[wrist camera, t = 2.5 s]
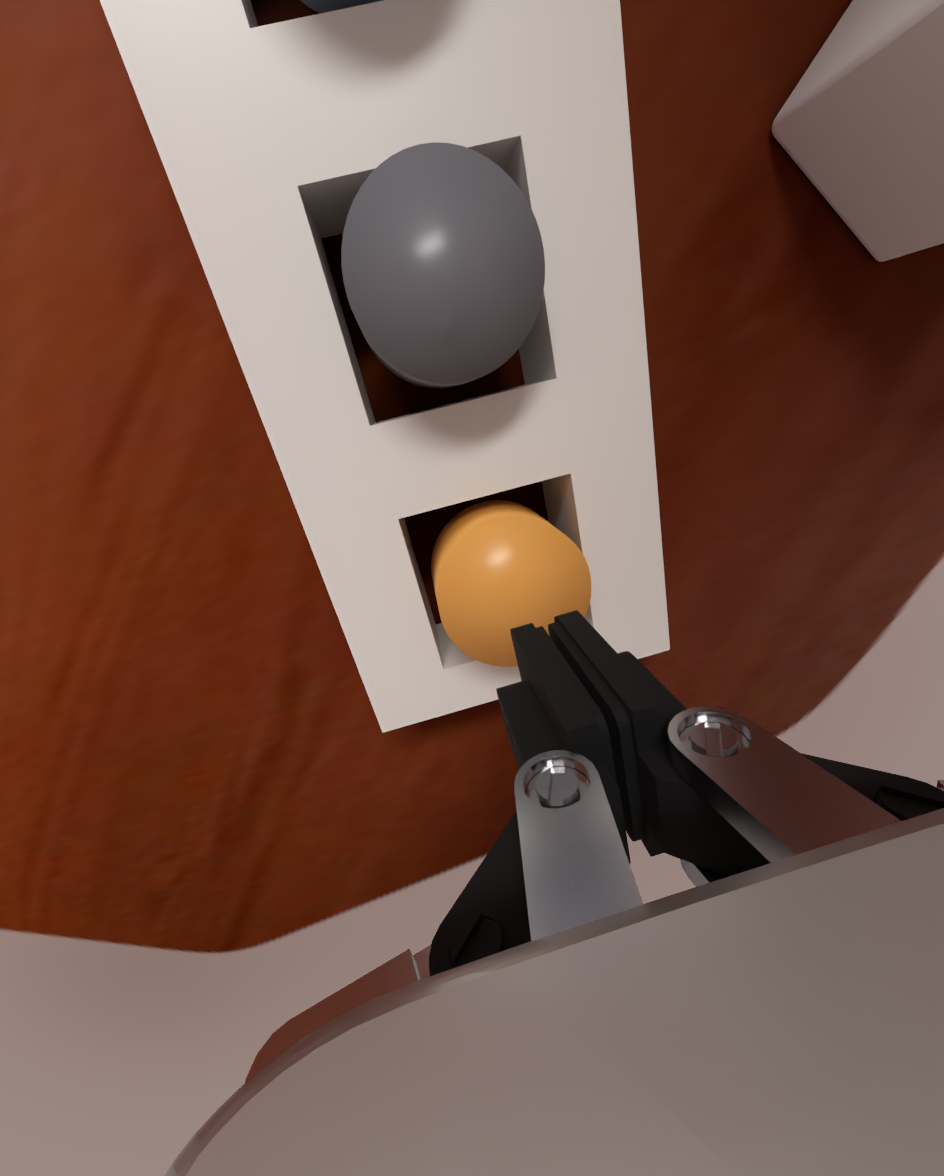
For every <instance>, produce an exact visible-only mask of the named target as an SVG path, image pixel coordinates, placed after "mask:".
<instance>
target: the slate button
mask: <svg viewBox="0 0 944 1176" xmlns="http://www.w3.org/2000/svg"><path fill="white" fill-rule="evenodd" d="M300 1H301V2H302V3H304V4H305V5H306V6H307V7H309V8H311V9H312V10H314V11H316V12H318V13H319V14H321V13H325V12H330V11H335V10H340V9H345V8H349V7H354V6H359V5H364V4H369V3H373V2H378V1H383V0H300Z"/></svg>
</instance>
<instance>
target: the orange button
mask: <svg viewBox="0 0 944 1176" xmlns="http://www.w3.org/2000/svg"><path fill="white" fill-rule="evenodd" d="M431 574H432V579H433V584H434V589H435V594H436V599H437V604H438V609H439V614H440V618H441V621H442V624H443V627H444V629H445V631H446V633H447V635H448V636H449V638H450V639H451V640H452V642H453V643H454V644H455V645H456V646H457V647H458V648H459V649H460V650H461V651H462V652H464V653H465V654H466V655H468V656H470V657H471V658H473V659H475V660H477V661H480V662H482V663H485V664H489V665H493V666H501V667H514V666H518V664H517V659H516V655H515V651H514V646H513V642H512V638H511V632H510V629H512V628H516V627H519V626H523V625H526V624H530V623H533V624H534V626H535V627H536V628H537V627H541V626H543V628H544V629H545V630H546V632H547V633H548V635H549V631H548V624H551V623H554V617H555V616H558V615H561V614H565V613H568V612H572V611H575V610H577V611H579V612H580V613H581V615H582V616H583V617H584V618H585V616H586V613H587V610H588V607H589V604H590V599H591V588H592V586H591V576H590V571H589V567H588V565H587V562H586V559H585V558H584V556H583V554H582V552H581V551H580V549H579V548H578V547H577V545H576V544H575V543H574V542H573V541H572V540H571V539H570V538H569V537H568V536H566V535H565V534H564V533H562V532H561V531H560V530H558V529H557V528H556V527H554V526H553V525H552V524H550V523H549V522H548V521H546V520H545V519H544V518H542V517H541V516H540V515H538V514H537V513H536V512H534V511H533V510H532V509H530V508H528V507H526V506H524V505H522V504H519V503H516V502H512V501H507V500H490V501H485V502H480V503H477V504H474V505H472V506H470V507H468V508H466V509H464V510H462V511H461V512H459V513H458V514H457V515H455V516H454V517H453V518H452V519H451V520H450V521H449V522H448V523H447V524H446V525H445V527H444V528H443V529H442V531H441V532H440V534H439V536H438V538H437V540H436V542H435V545H434V548H433V552H432V557H431Z"/></svg>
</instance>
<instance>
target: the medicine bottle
mask: <svg viewBox="0 0 944 1176" xmlns="http://www.w3.org/2000/svg"><path fill="white" fill-rule="evenodd" d="M772 134H773V136H774V137H775V138H776V140H777V141H778V142H779V143H780V144H781V146H782V147H783V148H784V149H785V151H786V152H787V153H788V154H789V155H790V157H791V158H792V159H793V160H794V161H795V163H796V164H797V165H798V166H799V168H800V169H801V170H802V171H803V172H804V174H805V175H806V176H807V177H808V178H809V180H810V181H811V182H812V183H813V185H814V186H815V187H816V188H817V189H818V191H819V192H820V193H821V194H822V195H823V197H824V198H825V199H826V200H827V201H828V203H829V204H830V205H831V206H832V208H833V209H834V210H835V211H836V212H837V214H838V215H839V216H840V217H841V218H842V220H843V221H844V222H845V223H846V225H847V226H848V227H849V228H850V229H851V231H852V232H853V233H854V234H855V235H856V237H857V238H858V239H859V240H860V242H861V243H862V244H863V245H864V246H865V248H866V249H867V250H868V251H869V252H870V254H871V255H872V256H873V257H874V258H875V260H877V261H879V262H884V261H888V260H891V259H895V258H898V257H901V256H905V255H908V254H911V253H914V252H918V251H921V250H924V249H928V248H931V247H934V246H938V245H941V244H944V0H853V1H852V2H851V4H850V5H849V7H848V8H847V10H846V11H845V13H844V14H843V16H842V17H841V19H840V20H839V22H838V23H837V25H836V26H835V28H834V29H833V31H832V32H831V34H830V35H829V37H828V39H827V40H826V42H825V43H824V45H823V46H822V48H821V49H820V51H819V52H818V54H817V55H816V57H815V58H814V60H813V61H812V63H811V64H810V66H809V67H808V69H807V70H806V72H805V73H804V75H803V76H802V78H801V79H800V81H799V83H798V84H797V86H796V87H795V89H794V90H793V92H792V93H791V95H790V96H789V98H788V99H787V101H786V102H785V104H784V105H783V107H782V108H781V110H780V111H779V113H778V114H777V116H776V117H775V119H774V121H773V123H772Z"/></svg>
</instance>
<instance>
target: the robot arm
mask: <svg viewBox="0 0 944 1176" xmlns="http://www.w3.org/2000/svg"><path fill="white" fill-rule="evenodd" d="M548 631H549V635H548V633H547V632H546V630H545V629H544V628H543V626H541V627H537V628H536V627H535V626H534V624H533V623H530V624H526V625H523V626H519V627H516V628H512V629H510V632H511V638H512V642H513V646H514V651H515V655H516V659H517V664H518V668H519V672H520V677H521V682H517V683H514V684H510V685H507V686H504V687H500V688H497V689H496V691H497V696H498V700H499V704H500V708H501V711H502V715H503V719H504V723H505V726H506V730H507V733H508V737H509V740H510V743H511V746H512V749H513V752H514V755H515V758H516V761H517V764H518V767H519V771H518V773H517V775H516V777H515V785H514V791H515V800H516V809H517V811H516V812H515V814H514V815H513V817H512V818H511V820H510V821H509V823H508V824H507V826H506V827H505V829H504V830H503V832H502V833H501V835H500V836H499V838H498V839H497V841H496V842H495V844H494V845H493V847H492V848H491V850H490V851H489V853H488V854H487V856H486V857H485V859H484V860H483V862H482V863H481V865H480V866H479V868H478V869H477V871H476V872H475V874H474V875H473V877H472V878H471V880H470V881H469V883H468V884H467V886H466V887H465V889H464V890H463V892H462V893H461V895H460V896H459V898H458V899H457V901H456V902H455V904H454V905H453V907H452V908H451V910H450V911H449V913H448V914H447V916H446V917H445V919H444V920H443V921H442V923H441V924H440V926H439V929H438V931H437V932H436V934H435V936H434V938H433V940H432V944H431V945H430V946H428V947H426V948H425V949H423V950H422V951H420V952H418V953H416V954H415V955H412V953H411V951H410V949H408V950H407V951H405V952H403V953H401V954H400V955H398V956H396V957H395V958H393V959H391V960H390V961H388V962H386V963H385V964H383V965H381V966H379V967H378V968H376V969H374V970H373V971H371V972H369V973H368V974H366V975H364V976H363V977H361V978H359V979H358V980H356V981H354V982H353V983H351V984H349V985H347V986H346V987H344V988H342V989H341V990H339V991H337V992H336V993H334V994H332V995H331V996H329V997H327V998H326V999H324V1000H322V1001H320V1002H319V1003H317V1004H315V1005H314V1006H312V1007H310V1008H309V1009H307V1010H306V1011H304V1012H302V1013H301V1014H299V1015H297V1016H295V1017H294V1018H292V1019H290V1020H289V1021H288V1022H286V1023H285V1024H284V1025H283V1026H281V1027H280V1028H279V1029H278V1030H277V1031H276V1032H274V1033H273V1034H272V1035H271V1037H270V1038H269V1039H268V1040H267V1042H266V1043H265V1044H264V1046H263V1047H262V1048H261V1050H260V1051H259V1052H258V1054H257V1056H256V1058H255V1060H254V1062H253V1064H252V1066H251V1069H250V1071H249V1073H248V1075H247V1077H246V1081H245V1084H244V1085H243V1086H242V1087H241V1088H239V1089H238V1091H236V1092H235V1093H234V1094H233V1095H232V1096H231V1097H230V1098H229V1099H228V1100H227V1101H226V1102H225V1103H224V1104H223V1105H222V1106H221V1107H220V1108H219V1109H218V1110H217V1111H216V1112H215V1113H214V1114H213V1115H212V1116H211V1117H210V1118H209V1119H208V1121H207V1122H206V1123H205V1124H204V1125H203V1126H202V1127H201V1128H200V1129H199V1130H198V1131H197V1132H196V1133H195V1135H194V1136H193V1137H192V1139H191V1140H190V1141H189V1142H188V1144H187V1145H186V1146H185V1148H184V1149H183V1150H182V1151H181V1153H180V1154H179V1155H178V1157H177V1158H176V1160H175V1161H174V1162H173V1164H172V1165H171V1167H170V1168H169V1170H168V1171H167V1173H166V1175H165V1176H944V780H938V783H937V788H936V787H934V786H932V785H930V784H928V783H925V782H922V781H918V780H915V779H911V778H908V777H904V776H900V775H896V774H891V773H887V772H882V771H878V770H873V769H869V768H864V767H860V766H855V765H850V764H846V763H842V762H837V761H833V760H828V759H823V758H819V757H815V756H810V755H806V754H801V753H799V752H798V751H796V750H795V749H793V748H792V747H790V746H789V745H787V744H786V743H784V742H783V741H781V740H780V739H778V738H777V737H775V736H774V735H772V734H771V733H769V732H768V731H766V730H765V729H763V728H762V727H760V726H759V725H757V724H756V723H754V722H753V721H751V720H750V719H748V718H747V717H745V716H743V715H741V714H739V713H737V712H735V711H732V710H728V709H725V708H720V707H710V706H705V707H694V708H691V709H686V708H685V707H684V706H683V705H682V704H681V703H680V702H679V701H678V700H677V699H676V698H675V697H674V696H673V695H672V694H671V693H670V692H669V691H668V690H667V689H666V688H665V687H664V686H663V685H662V684H661V683H660V682H659V681H658V680H657V679H656V678H655V677H654V676H653V675H652V674H651V673H650V672H649V670H648V669H647V668H646V667H645V666H644V665H643V664H642V663H641V662H640V661H639V660H638V659H637V658H636V657H635V656H634V655H633V654H632V653H630V652H629V651H624V652H621V653H617V652H616V651H615V650H614V649H613V648H612V647H611V646H610V645H609V644H608V643H607V642H606V640H605V639H604V638H603V637H602V636H601V635H600V634H599V633H598V632H597V631H596V630H595V629H594V628H593V626H592V625H591V624H590V623H589V622H588V621H587V620H586V619H585V618H584V617H583V616H582V615H581V613H580V612H579V611H577V610H575V611H572V612H568V613H565V614H561V615H558V616H555V617H554V623H551V624H548ZM626 831H627V833H628V835H629V837H630V838H631V840H632V841H637V840H640V839H641V840H642V842H643V843H644V846H645V847H646V849H647V851H648V852H649V854H650V856H655V855H658V854H661V853H667V854H669V855H672V856H675V857H677V858H680V860H681V864H682V868H683V869H684V871H685V872H686V874H687V876H688V877H689V879H691V881H692V882H693V883H694V885H695V886H696V887H695V888H692V889H689V890H686V891H683V892H680V893H677V894H673V895H670V896H667V897H664V898H661V899H659V900H655V901H652V902H649V903H646V904H643V903H642V900H641V897H640V894H639V891H638V888H637V885H636V883H635V879H634V876H633V873H632V870H631V868H630V856H629V849H628V843H627V836H626Z"/></svg>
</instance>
